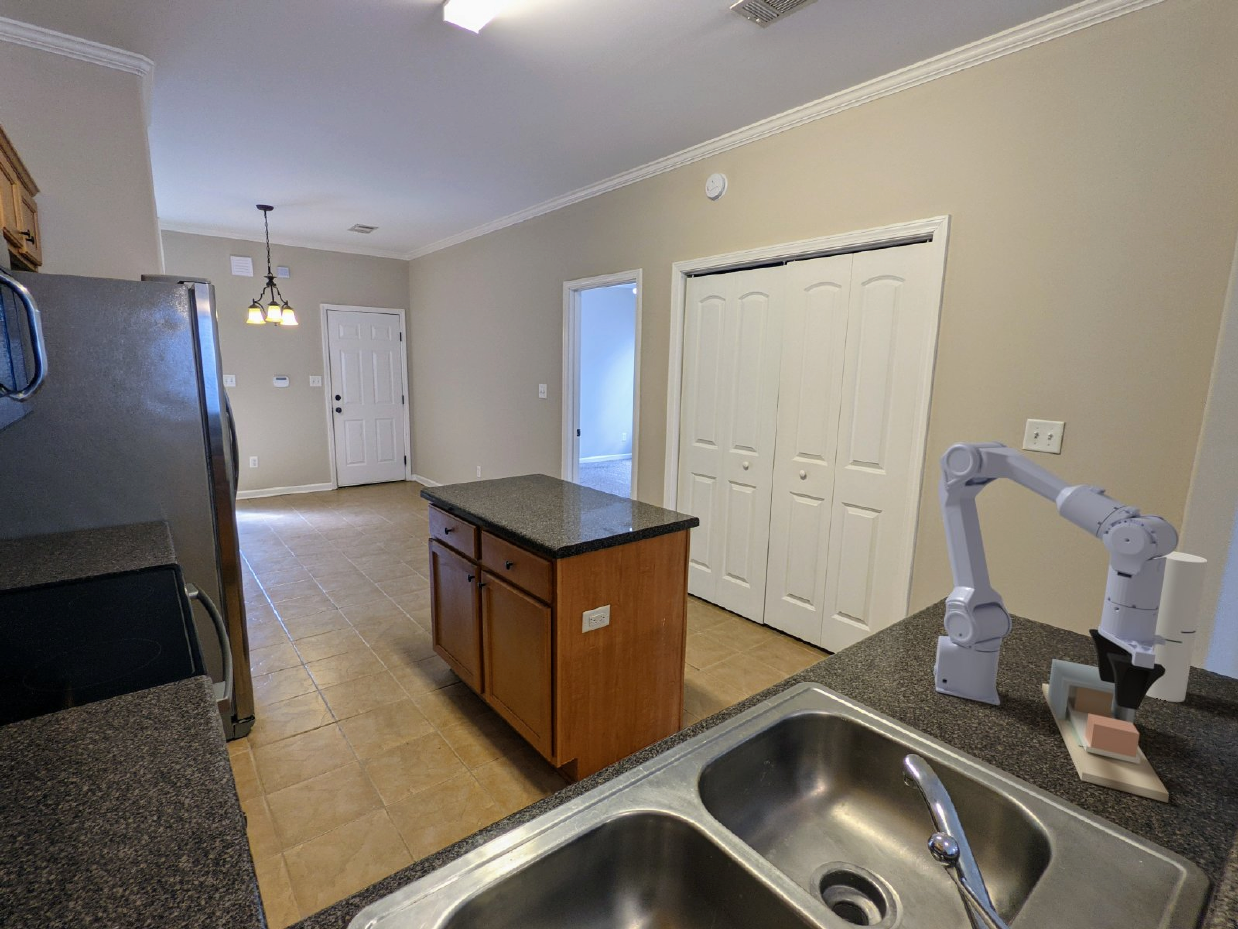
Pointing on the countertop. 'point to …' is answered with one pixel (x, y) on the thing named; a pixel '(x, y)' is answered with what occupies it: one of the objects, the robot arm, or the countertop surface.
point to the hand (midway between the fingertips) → (1117, 693)
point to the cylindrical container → (1177, 623)
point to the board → (1109, 764)
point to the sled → (1101, 725)
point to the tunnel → (1081, 677)
